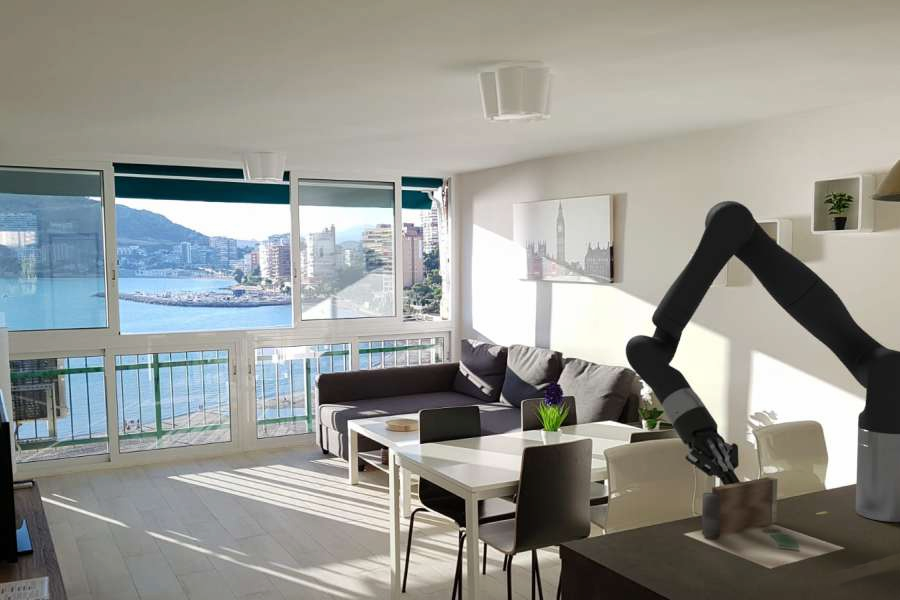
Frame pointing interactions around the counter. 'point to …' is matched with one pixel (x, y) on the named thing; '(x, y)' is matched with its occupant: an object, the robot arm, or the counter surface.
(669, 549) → the counter surface
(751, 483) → the brown wood panel
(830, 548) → the beige flat square sheet
